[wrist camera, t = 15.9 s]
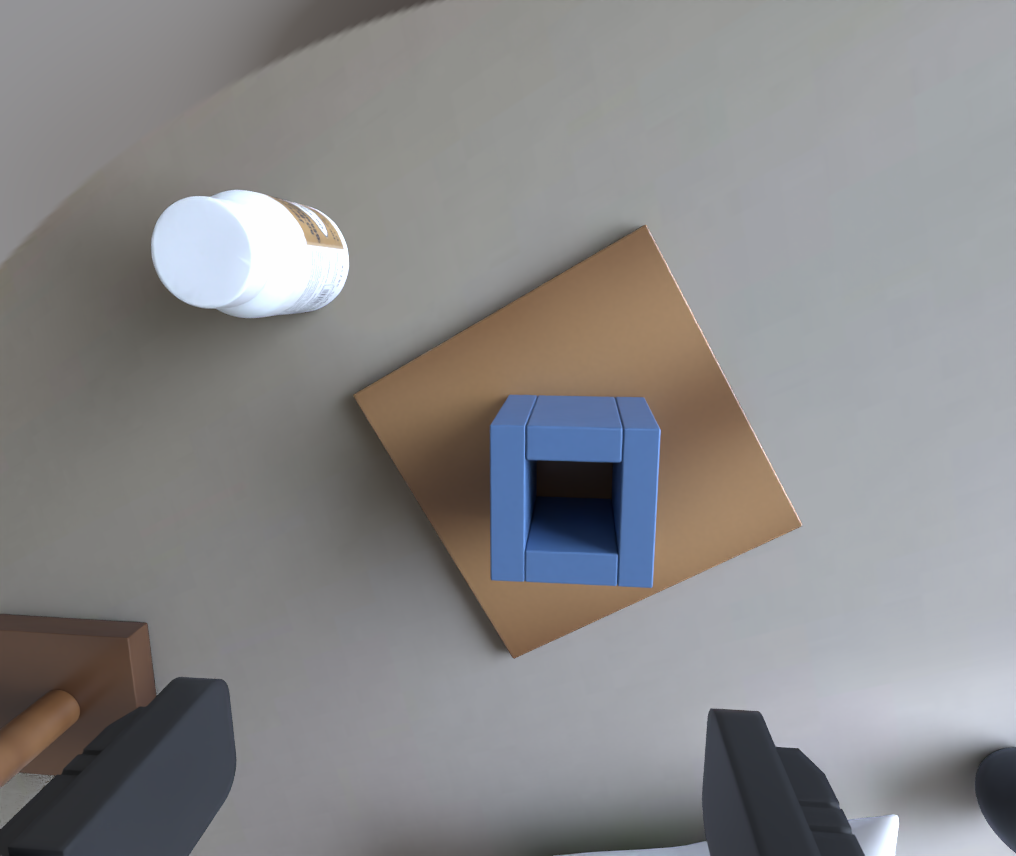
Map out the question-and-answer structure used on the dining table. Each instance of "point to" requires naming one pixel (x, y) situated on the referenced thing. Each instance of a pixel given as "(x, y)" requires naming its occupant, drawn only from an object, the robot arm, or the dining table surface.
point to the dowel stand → (66, 687)
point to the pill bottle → (249, 254)
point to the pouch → (870, 831)
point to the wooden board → (575, 372)
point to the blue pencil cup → (574, 521)
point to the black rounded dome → (999, 793)
